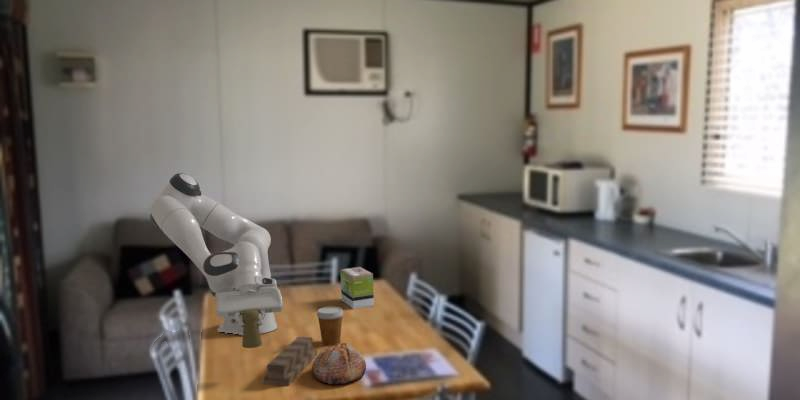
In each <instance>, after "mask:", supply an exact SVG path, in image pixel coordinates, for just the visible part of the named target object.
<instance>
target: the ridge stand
mask: <svg viewBox="0 0 800 400" xmlns="http://www.w3.org/2000/svg"><path fill="white" fill-rule="evenodd" d="M317 350H318V349H316V348H315V349H314V348H313V337H299V336H298V337H296V339H294V340H293V341H292V342H291V343H290V344H289V345H287V346H286V347H285V348H284V349H283V350H282V351H281V352H280V353H279V354H278V355H276V357H275V358H273V359H272V360H271V361H270V362H269V363H268V364H267V374H265V376H264V377H263V385H274V384H276V385H275V386H277V385H278V386H290V385H291V384H292V383H293V382H294V381H295V380H296V378H297V377H298V376H299V375H300V374H301V373H302V372H303V371H304V370H305V369H306V367H307V366H308V365H309V364H310V363H311V362H312V361H313V360H315V358H316V357H317V356H318V352H317Z"/></svg>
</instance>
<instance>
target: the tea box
mask: <svg viewBox="0 0 800 400" xmlns="http://www.w3.org/2000/svg"><path fill="white" fill-rule="evenodd" d="M339 271H340V272H339V273H340V287H341V289H340V292H341V293H340V294H341V302H344V303H345V304H346V305H347V306H348V307H350V309H351V308H352V310H357V309H364V308H370V307H374V305H375V299H374V297H375V296H374V294H375V293H374V274H373V272H371V271H369V270H366V269H365V268H363V267H362V266H356V267H351V268H342V269H341V268H340V270H339Z"/></svg>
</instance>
